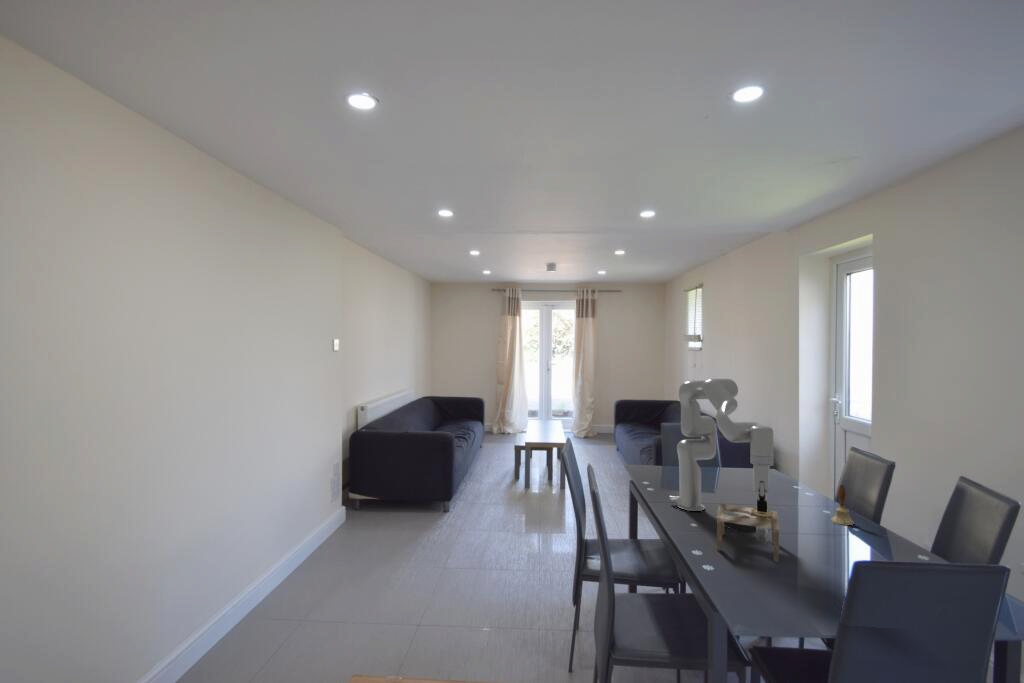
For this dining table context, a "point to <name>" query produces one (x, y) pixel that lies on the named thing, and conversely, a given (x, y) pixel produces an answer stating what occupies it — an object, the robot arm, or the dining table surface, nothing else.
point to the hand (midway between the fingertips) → (761, 509)
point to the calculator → (739, 526)
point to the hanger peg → (762, 532)
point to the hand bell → (842, 510)
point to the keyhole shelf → (751, 521)
